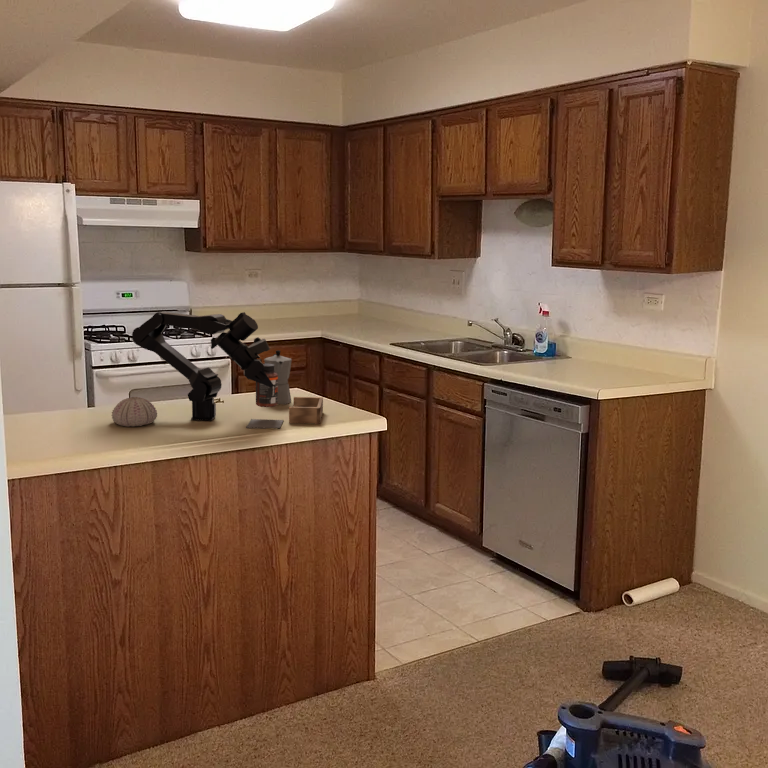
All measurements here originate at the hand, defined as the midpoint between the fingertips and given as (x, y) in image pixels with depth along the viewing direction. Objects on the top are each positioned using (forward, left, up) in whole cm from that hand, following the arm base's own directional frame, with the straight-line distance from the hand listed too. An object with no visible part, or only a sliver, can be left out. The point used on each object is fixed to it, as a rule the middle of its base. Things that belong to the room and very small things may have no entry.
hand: (271, 384), depth 258 cm
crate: (+11, +5, -11) cm, 16 cm away
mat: (-1, -6, -11) cm, 13 cm away
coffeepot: (-1, +28, -12) cm, 31 cm away
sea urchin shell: (-40, -8, -12) cm, 43 cm away
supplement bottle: (-1, 0, -7) cm, 7 cm away
